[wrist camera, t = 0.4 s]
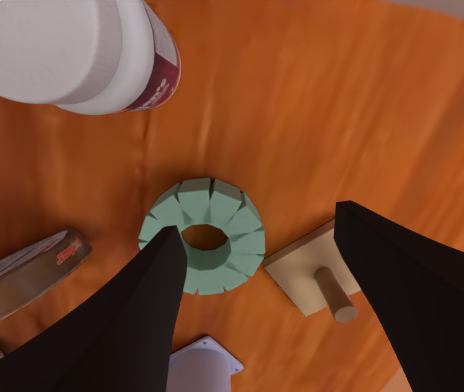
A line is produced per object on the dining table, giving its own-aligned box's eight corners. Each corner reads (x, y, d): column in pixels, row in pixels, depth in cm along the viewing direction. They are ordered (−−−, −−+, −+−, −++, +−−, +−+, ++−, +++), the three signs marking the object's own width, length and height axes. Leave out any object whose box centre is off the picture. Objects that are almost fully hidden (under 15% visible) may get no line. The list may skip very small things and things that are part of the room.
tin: (-6, 287, 24) (-112, 375, 17) (-30, 266, 23) (-157, 350, 16) (110, 236, 22) (50, 309, 15) (89, 210, 21) (12, 275, 13)
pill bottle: (132, 123, 18) (8, 155, 8) (78, 41, 16) (-196, -64, 6) (198, 84, 17) (159, 62, 7) (151, -9, 15) (-16, -249, 5)
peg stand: (302, 308, 27) (322, 362, 22) (262, 260, 24) (273, 308, 19) (373, 273, 25) (414, 321, 20) (339, 215, 22) (377, 254, 17)
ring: (197, 288, 25) (194, 311, 23) (126, 220, 22) (111, 237, 19) (280, 239, 23) (287, 258, 20) (216, 154, 19) (214, 163, 17)
